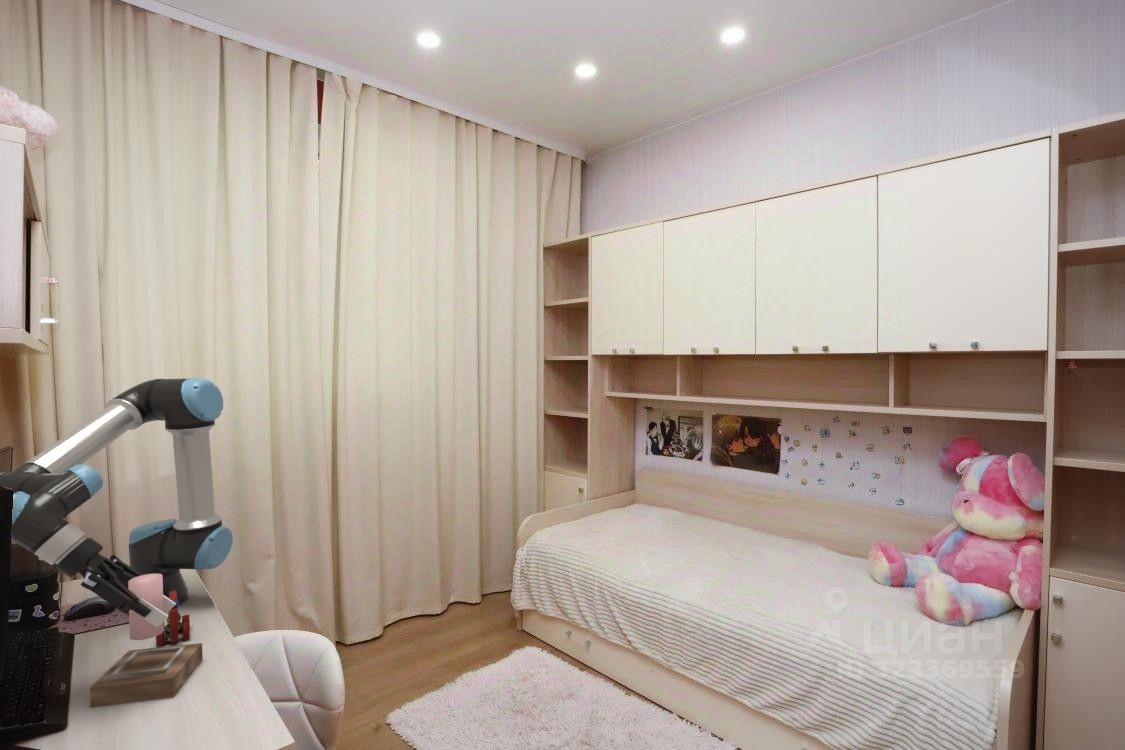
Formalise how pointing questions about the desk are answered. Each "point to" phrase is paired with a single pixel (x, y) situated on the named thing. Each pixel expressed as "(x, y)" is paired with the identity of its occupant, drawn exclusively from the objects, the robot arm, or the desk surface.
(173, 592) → the toy fire truck
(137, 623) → the rose cylinder
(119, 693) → the walnut base
